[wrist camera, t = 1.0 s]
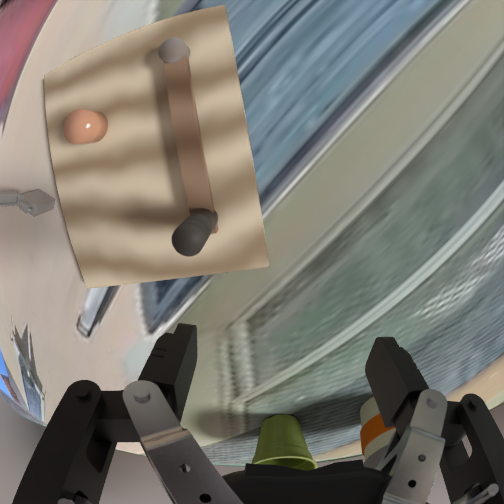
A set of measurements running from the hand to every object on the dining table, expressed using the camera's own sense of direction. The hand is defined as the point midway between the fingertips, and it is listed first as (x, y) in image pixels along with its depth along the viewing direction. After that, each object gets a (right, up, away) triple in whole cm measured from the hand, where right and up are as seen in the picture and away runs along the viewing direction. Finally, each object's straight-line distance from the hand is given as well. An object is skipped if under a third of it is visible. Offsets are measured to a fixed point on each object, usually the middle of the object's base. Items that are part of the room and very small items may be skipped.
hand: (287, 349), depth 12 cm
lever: (-8, +17, +16) cm, 24 cm away
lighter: (-33, +13, +22) cm, 42 cm away
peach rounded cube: (-20, +19, +16) cm, 33 cm away
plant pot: (+4, -28, +36) cm, 46 cm away
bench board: (-15, +16, +19) cm, 29 cm away
